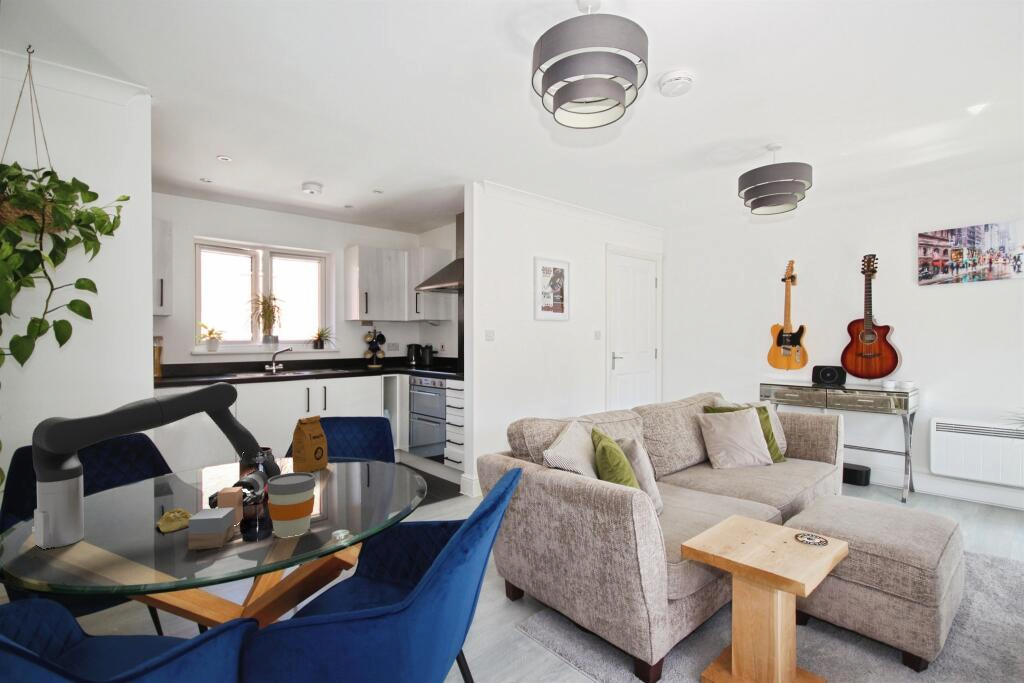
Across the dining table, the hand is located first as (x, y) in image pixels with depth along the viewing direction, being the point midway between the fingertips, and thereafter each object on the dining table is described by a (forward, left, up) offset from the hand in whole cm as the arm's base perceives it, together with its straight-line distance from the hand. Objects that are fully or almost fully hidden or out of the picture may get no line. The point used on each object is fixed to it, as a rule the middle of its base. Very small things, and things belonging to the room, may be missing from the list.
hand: (228, 505), depth 145 cm
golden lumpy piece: (-7, +14, -7) cm, 17 cm away
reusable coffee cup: (+6, -20, -6) cm, 22 cm away
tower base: (-9, -8, -6) cm, 13 cm away
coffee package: (+51, +30, -6) cm, 60 cm away
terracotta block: (+1, +1, -6) cm, 6 cm away
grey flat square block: (-9, -8, -2) cm, 12 cm away
